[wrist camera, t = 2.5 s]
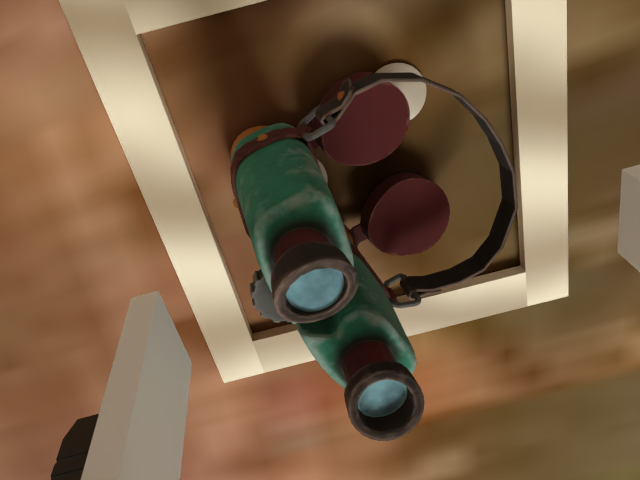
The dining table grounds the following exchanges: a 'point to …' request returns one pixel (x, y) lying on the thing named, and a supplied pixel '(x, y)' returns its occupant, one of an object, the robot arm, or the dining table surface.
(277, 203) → the binoculars
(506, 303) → the frame
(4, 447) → the dining table surface
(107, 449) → the robot arm
